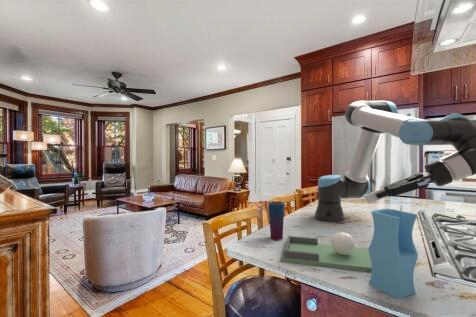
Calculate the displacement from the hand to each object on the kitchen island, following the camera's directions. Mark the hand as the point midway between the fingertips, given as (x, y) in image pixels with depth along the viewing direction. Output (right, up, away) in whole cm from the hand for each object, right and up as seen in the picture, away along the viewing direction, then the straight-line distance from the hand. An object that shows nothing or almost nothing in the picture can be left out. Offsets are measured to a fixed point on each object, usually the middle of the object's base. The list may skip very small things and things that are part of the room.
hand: (365, 199), depth 80 cm
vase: (-3, -21, -18) cm, 27 cm away
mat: (-11, -20, +1) cm, 23 cm away
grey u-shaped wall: (-20, -19, +4) cm, 28 cm away
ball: (-8, -15, 0) cm, 17 cm away
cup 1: (-27, -20, +20) cm, 39 cm away
